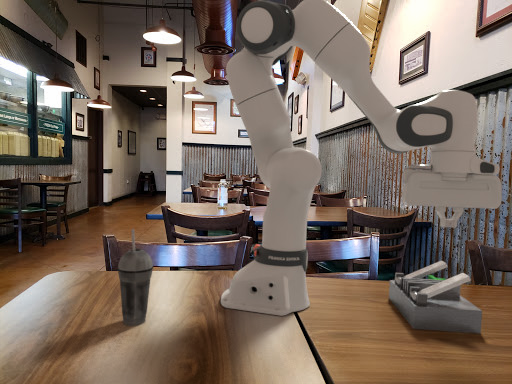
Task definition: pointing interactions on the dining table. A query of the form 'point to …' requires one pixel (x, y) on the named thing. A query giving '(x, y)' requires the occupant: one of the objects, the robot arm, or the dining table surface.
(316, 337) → the dining table surface
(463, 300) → the heatsink block
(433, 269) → the strap far
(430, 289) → the strap near
